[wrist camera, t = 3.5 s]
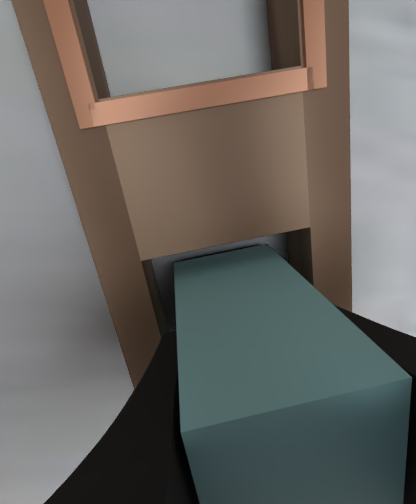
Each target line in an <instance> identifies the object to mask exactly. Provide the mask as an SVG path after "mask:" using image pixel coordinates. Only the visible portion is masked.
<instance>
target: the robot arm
mask: <svg viewBox="0 0 416 504" xmlns="http://www.w3.org/2000/svg"><path fill="white" fill-rule="evenodd" d="M334 306H335V307H336V308H337V309H338V310H339V311H340V312H342V313H343V314H344V315H345V316H346V317H347V318H348V319H349V320H350V321H351V322H352V323H353V324H355V325H356V326H357V327H358V328H359V329H360V330H361V331H362V332H363V333H364V334H365V335H367V336H368V337H369V338H370V339H371V340H372V341H373V342H374V343H375V344H376V345H377V346H378V347H380V348H381V349H382V350H383V351H384V352H385V353H386V354H387V355H388V356H389V357H390V358H391V359H393V360H394V361H395V362H396V363H397V364H398V365H399V366H400V367H401V368H402V369H403V370H405V371H406V372H407V373H408V374H409V375H410V376H411V377H412V384H411V399H410V413H409V427H408V441H407V456H406V470H405V484H404V498H403V504H416V337H413V336H410V335H408V334H405V333H402V332H399V331H397V330H394V329H391V328H389V327H386V326H384V325H381V324H379V323H376V322H374V321H371V320H369V319H366V318H364V317H362V316H359V315H357V314H355V313H352V312H350V311H348V310H345V309H343V308H341V307H338V306H336V305H334ZM44 504H200V503H199V499H198V495H197V491H196V488H195V484H194V480H193V477H192V473H191V469H190V465H189V462H188V458H187V454H186V450H185V447H184V443H183V439H182V435H181V428H180V403H179V379H178V355H177V330H176V331H172V332H167V333H164V334H163V336H162V337H161V339H160V342H159V344H158V346H157V348H156V350H155V353H154V355H153V357H152V359H151V361H150V363H149V365H148V366H147V368H146V370H145V372H144V374H143V376H142V378H141V379H140V381H139V383H138V385H137V386H136V388H135V390H134V391H133V393H132V394H131V396H130V398H129V399H128V401H127V403H126V404H125V406H124V407H123V409H122V410H121V412H120V413H119V415H118V416H117V418H116V419H115V420H114V422H113V423H112V425H111V426H110V427H109V429H108V430H107V431H106V433H105V434H104V435H103V437H102V438H101V439H100V441H99V442H98V443H97V444H96V446H95V447H94V448H93V449H92V450H91V452H90V453H89V454H88V455H87V456H86V457H85V459H84V460H83V461H82V462H81V463H80V465H79V466H78V467H77V468H76V469H75V470H74V472H73V473H72V474H71V475H70V476H69V477H68V478H67V480H66V481H65V482H64V483H63V484H62V485H61V486H60V487H59V488H58V489H57V490H56V491H55V492H54V494H53V495H52V496H51V497H50V498H49V499H48V500H47V501H46V502H45V503H44Z"/></svg>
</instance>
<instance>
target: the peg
mask: <svg viewBox="0 0 416 504" xmlns="http://www.w3.org/2000/svg"><path fill="white" fill-rule="evenodd" d="M174 281H175V306H176V330H177V355H178V379H179V403H180V428H181V435H182V439H183V443H184V447H185V450H186V454H187V458H188V462H189V465H190V469H191V473H192V477H193V480H194V484H195V488H196V491H197V495H198V499H199V503H200V504H403V498H404V484H405V470H406V456H407V441H408V427H409V413H410V399H411V384H412V377H411V376H410V375H409V374H408V373H407V372H406V371H405V370H403V369H402V368H401V367H400V366H399V365H398V364H397V363H396V362H395V361H394V360H393V359H391V358H390V357H389V356H388V355H387V354H386V353H385V352H384V351H383V350H382V349H381V348H380V347H378V346H377V345H376V344H375V343H374V342H373V341H372V340H371V339H370V338H369V337H368V336H367V335H365V334H364V333H363V332H362V331H361V330H360V329H359V328H358V327H357V326H356V325H355V324H353V323H352V322H351V321H350V320H349V319H348V318H347V317H346V316H345V315H344V314H343V313H342V312H340V311H339V310H338V309H337V308H336V307H335V306H334V305H333V304H332V303H331V302H330V301H329V300H327V299H326V298H325V297H324V296H323V295H322V294H321V293H320V292H319V291H318V290H317V289H316V288H314V287H313V286H312V285H311V284H310V283H309V282H308V281H307V280H306V279H305V278H304V277H302V276H301V275H300V274H299V273H298V272H297V271H296V270H295V269H294V268H293V267H292V266H291V265H289V264H288V263H287V262H286V261H285V260H284V259H283V258H282V257H281V256H280V255H279V254H278V253H276V252H275V251H274V250H273V249H272V248H271V247H270V246H269V245H268V244H264V245H259V246H254V247H250V248H245V249H240V250H235V251H230V252H225V253H220V254H215V255H210V256H205V257H200V258H195V259H190V260H185V261H180V262H175V263H174Z"/></svg>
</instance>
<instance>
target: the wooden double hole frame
mask: <svg viewBox="0 0 416 504" xmlns="http://www.w3.org/2000/svg"><path fill="white" fill-rule="evenodd" d="M11 1H12V4H13V7H14V10H15V13H16V16H17V19H18V23H19V26H20V29H21V32H22V35H23V38H24V42H25V45H26V48H27V51H28V54H29V57H30V61H31V64H32V67H33V70H34V73H35V76H36V80H37V83H38V86H39V89H40V92H41V95H42V99H43V102H44V105H45V108H46V111H47V114H48V118H49V121H50V124H51V127H52V130H53V133H54V137H55V140H56V143H57V146H58V149H59V152H60V155H61V159H62V162H63V165H64V168H65V171H66V174H67V178H68V181H69V184H70V187H71V190H72V193H73V197H74V200H75V203H76V206H77V209H78V212H79V216H80V219H81V222H82V225H83V228H84V231H85V235H86V238H87V241H88V244H89V247H90V250H91V254H92V257H93V260H94V263H95V266H96V269H97V273H98V276H99V279H100V282H101V285H102V288H103V291H104V295H105V298H106V301H107V304H108V307H109V310H110V314H111V317H112V320H113V323H114V326H115V329H116V333H117V336H118V339H119V342H120V345H121V348H122V352H123V355H124V358H125V361H126V364H127V367H128V371H129V374H130V377H131V380H132V383H133V386H134V390H135V388H136V386H137V385H138V383H139V381H140V379H141V378H142V376H143V374H144V372H145V370H146V368H147V366H148V365H149V363H150V361H151V359H152V357H153V355H154V353H155V350H156V348H157V346H158V344H159V342H160V339H161V337H162V336H163V334H164V333H167V332H169V330H168V326H167V322H166V318H165V314H164V310H163V306H162V302H161V298H160V294H159V290H158V286H157V282H156V278H155V273H154V269H153V265H152V261H151V259H153V258H158V257H163V256H168V255H173V254H178V253H183V252H188V251H193V250H198V249H203V248H208V247H213V246H218V245H223V244H228V243H233V242H238V241H243V240H248V239H253V238H258V237H263V236H268V235H273V234H278V233H283V232H286V235H287V247H288V258H289V265H291V266H292V267H293V268H294V269H295V270H296V271H297V272H298V273H299V274H300V275H301V276H302V277H304V278H305V279H306V280H307V281H308V282H309V283H310V284H311V285H312V286H313V287H314V288H316V289H317V290H318V291H319V292H320V293H321V294H322V295H323V296H324V297H325V298H326V299H327V300H329V301H330V302H331V303H332V304H333V305H336V306H338V307H341V308H343V309H345V310H348V311H350V312H352V267H351V179H350V90H349V2H348V0H266V1H267V13H268V25H269V36H270V48H271V60H272V71H266V72H260V73H254V74H248V75H242V76H236V77H230V78H224V79H218V80H212V81H206V82H200V83H194V84H188V85H182V86H176V87H170V88H164V89H157V90H151V91H145V92H139V93H133V94H127V95H121V96H115V97H111V96H110V92H109V88H108V84H107V80H106V76H105V72H104V68H103V64H102V60H101V56H100V52H99V48H98V44H97V40H96V36H95V32H94V28H93V24H92V20H91V16H90V11H89V7H88V3H87V0H11Z"/></svg>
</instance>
